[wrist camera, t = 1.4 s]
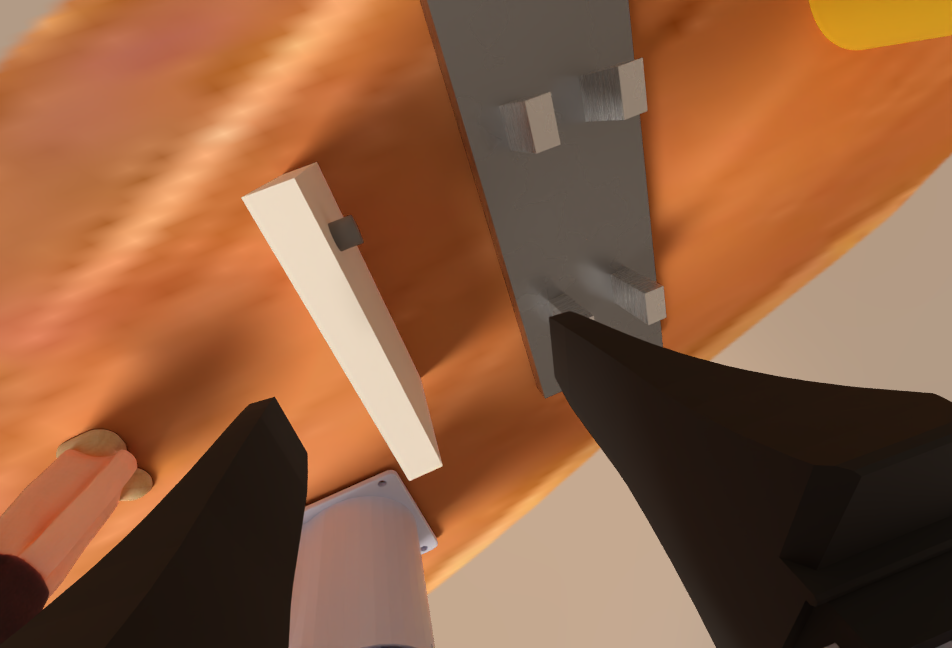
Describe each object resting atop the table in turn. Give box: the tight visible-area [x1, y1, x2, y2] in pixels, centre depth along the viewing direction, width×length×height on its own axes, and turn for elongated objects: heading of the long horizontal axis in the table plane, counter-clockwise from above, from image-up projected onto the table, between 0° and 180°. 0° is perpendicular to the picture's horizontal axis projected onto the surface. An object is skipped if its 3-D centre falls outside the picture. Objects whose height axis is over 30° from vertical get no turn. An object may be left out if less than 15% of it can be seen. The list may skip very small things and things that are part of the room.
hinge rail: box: [420, 0, 666, 398], centre depth 19 cm, size 8×20×4 cm, turn 17°
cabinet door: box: [241, 162, 443, 481], centre depth 17 cm, size 2×12×7 cm, turn 17°
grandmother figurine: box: [0, 429, 153, 644], centre depth 15 cm, size 8×4×13 cm, turn 18°
